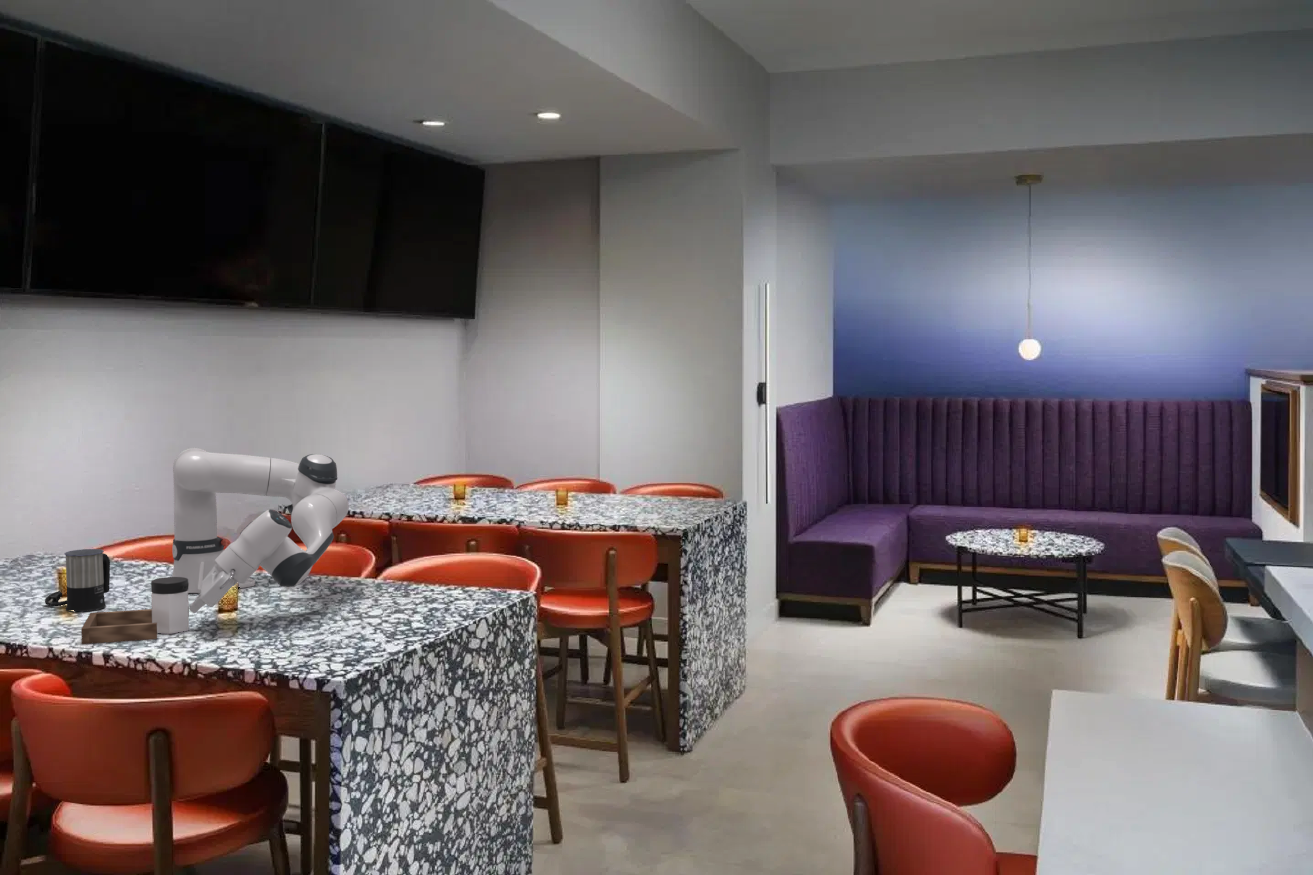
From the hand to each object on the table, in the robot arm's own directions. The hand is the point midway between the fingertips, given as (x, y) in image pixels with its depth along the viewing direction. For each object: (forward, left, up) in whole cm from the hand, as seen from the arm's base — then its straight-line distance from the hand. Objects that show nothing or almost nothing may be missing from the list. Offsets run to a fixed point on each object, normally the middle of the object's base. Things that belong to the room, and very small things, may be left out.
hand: (191, 610), depth 271 cm
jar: (+4, -3, -5) cm, 7 cm away
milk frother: (+15, -43, -5) cm, 46 cm away
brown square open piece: (+13, -6, -5) cm, 15 cm away
